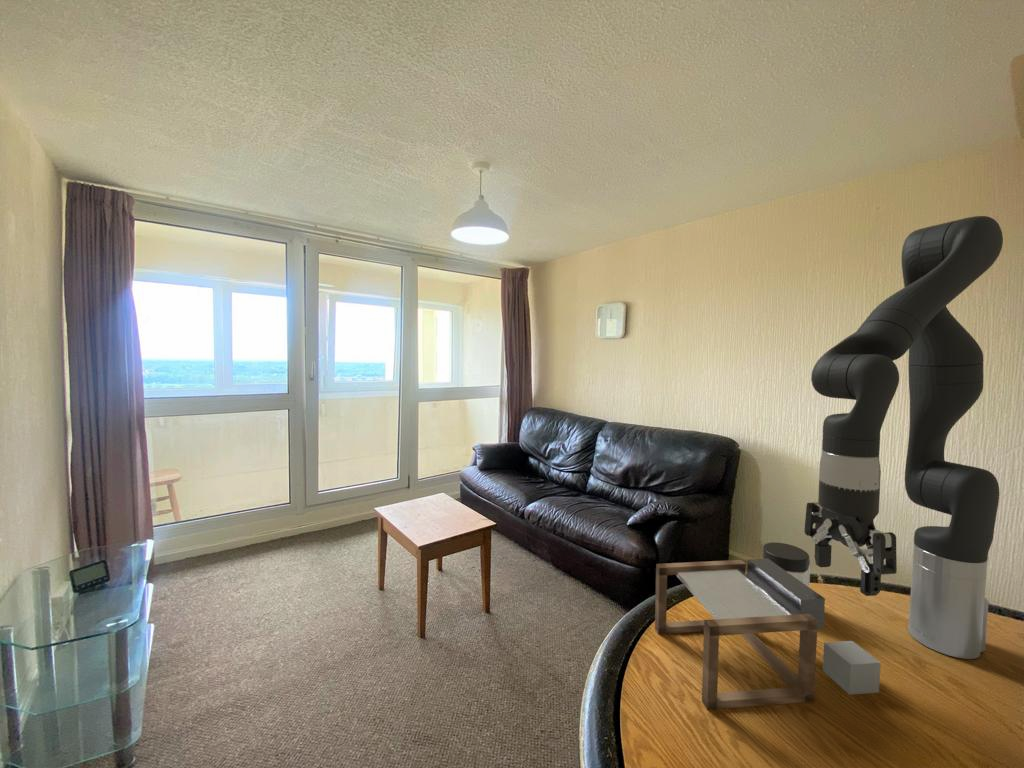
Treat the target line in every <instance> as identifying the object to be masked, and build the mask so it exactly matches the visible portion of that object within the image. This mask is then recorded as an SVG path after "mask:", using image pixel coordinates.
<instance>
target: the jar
mask: <svg viewBox="0 0 1024 768" xmlns="http://www.w3.org/2000/svg"><path fill="white" fill-rule="evenodd" d="M767 558H768V559H769V560H771V561H772V562H774V563H775V564H776V565H778V566H779V567H781V568H782V569H784V570H785V571H786V572H788V573H789V574H791V575H792V576H794V577H795V578H796V579H798V580H799V581H801V582H802V583H804V584H805V585H806V586H808V587H809V588H810V584H811V583H810V581H811V580H810V578H811V566H810V561H811V560H810V555H809V553H808V552H807V551H805V550H804V549H802V548H800V547H798V546H796V545H794V544H793V545H792V544H788V543H784V542H774V541H773V542H767V543H764V544H763V546H762V559H767Z"/></svg>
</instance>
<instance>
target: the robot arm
mask: <svg viewBox="0 0 1024 768" xmlns="http://www.w3.org/2000/svg"><path fill="white" fill-rule="evenodd" d="M1003 242H1004V235H1003V232H1002V228H1001V226H1000V224H999V223H998V222H997V220H996V219H994V218H993V217H990V216H987V215H977V216H968V217H965V218H961V219H957V220H953V221H947V222H943V223H938V224H936V225H935V224H934V225H931V226H927V227H923V228H919V229H917V230H916V229H915V230H914V231H912V232H910V234H908V235H907V236H906V238H905V240H904V242H903V245H902V249H901V250H902V251H901V268H902V270H901V271H902V279H903V288H902V289H900V290H897V292H895V293H893V294H892V295H890V296H888V297H886V299H884V300H883V301H882V302H881V303H879V304H878V305H877V306H876V307H875V308H874V309H873V310H872V311H871V312H870V313H869V315H868V316H867V317H866V319H864V321H863V323H862V324H861V325H860V326H859V328H858V329H857V330H856V331H855V332H853V333H852V334H850V335H848V336H847V337H845V338H844V339H843V340H841V341H840V342H838V343H837V344H835V345H834V346H833V347H831V348H830V349H829V350H828V351H826V352H824V354H822V356H820V358H818V360H817V361H816V363H815V364H814V366H813V368H812V371H811V377H810V379H811V385H812V387H813V388H814V391H816V392H817V393H818V394H819V395H820V396H824V397H827V398H834V399H843V400H853V401H854V400H855V403H854V406H853V407H852V408H851V410H850V412H842V413H833V414H829V415H828V416H826V417H825V418H824V420H823V423H822V439H821V440H822V443H821V444H822V445H821V455H820V460H819V469H818V470H819V471H818V472H819V473H818V496H817V497H818V498H817V499H818V501H815V502H813V501H812V502H807V503H806V506H805V507H806V509H805V520H804V531H803V532H804V534H805V535H806V536H807V537H811V540H812V542H813V544H814V561H815V565H816V566H817V567H819V568H828V567H831V566H832V545H831V543H832V542H833V541H835V542H840V543H841V544H842V545H844V546H845V547H847V548H849V551H850V553H851V554H852V556H853V557H855V558H857V560H858V563H859V565H860V567H861V571H860V587H859V588H860V589H859V591H860V593H861V594H863V595H864V596H865V597H873V596H878V594H880V593H881V583H882V581H881V580H882V575H896V574H897V570H898V569H897V567H898V566H897V564H898V563H897V561H898V560H897V557H898V556H897V536H896V534H895V533H894V532H891V531H889V532H884V531H881V530H878V529H876V526H875V522H874V520H875V518H876V517H877V516H879V515H878V514H879V513H880V496H881V477H882V474H881V469H882V467H881V463H880V448H881V430H882V427H883V424H884V422H885V419H886V415H887V413H888V410H889V407H890V406H891V404H892V401H893V400H894V397H895V395H896V393H897V390H898V386H899V384H900V383H899V382H900V372H899V369H898V366H897V365H896V363H895V362H894V361H897V360H898V359H900V358H902V357H903V356H904V355H905V354H906V353H907V352H908V367H907V368H908V392H909V393H908V394H909V431H908V441H907V444H908V445H907V451H906V461H905V468H904V469H905V470H904V488H905V492H906V494H907V497H908V498H909V499H910V501H911V502H913V503H914V504H915V505H917V506H920V507H923V508H926V509H928V510H929V509H930V510H932V511H936V512H940V513H943V514H946V515H949V516H950V522H949V525H948V526H940V525H939V526H938V525H937V526H935V525H926V526H925V525H924V526H920V527H918V528H916V529H915V531H914V535H913V551H912V552H913V553H912V571H911V582H910V597H909V598H910V599H909V610H908V611H909V614H908V627H907V628H908V629H907V630H908V633H909V634H910V636H911V637H912V638H913V639H915V640H916V641H917V642H919V643H920V644H922V645H924V646H925V647H927V648H929V649H931V650H932V651H936V652H938V653H941V654H944V655H946V656H950V657H954V658H958V659H965V660H973V659H978V658H979V657H980V656H981V652H982V653H983V652H985V651H986V642H987V630H988V628H987V627H988V617H989V616H988V615H989V600H988V599H987V598H986V588H987V574H988V573H987V570H988V560H989V559H988V557H989V552H990V549H991V546H992V544H993V539H994V534H995V526H996V521H997V516H998V515H997V514H998V508H999V503H1000V501H999V500H1000V485H999V482H998V480H997V477H996V476H995V475H994V474H993V473H992V472H991V471H989V470H987V469H984V468H980V467H976V466H973V465H965V464H961V463H957V462H956V463H955V462H951V461H946V459H945V447H946V443H947V442H946V441H947V438H948V435H949V433H950V431H951V429H953V427H954V426H955V425H956V423H958V422H959V420H960V419H961V418H962V417H963V416H965V415H966V413H967V412H968V411H969V410H970V409H971V408H972V407H973V406H974V404H975V403H976V402H977V401H978V399H980V397H981V394H982V393H983V389H984V352H983V350H982V348H981V346H980V345H979V344H978V342H977V340H976V339H975V338H974V337H973V336H972V335H971V334H970V333H969V332H968V331H967V329H966V328H965V327H964V326H963V325H962V324H961V323H960V322H959V321H958V320H957V319H956V317H954V315H953V314H952V313H951V311H950V310H949V308H948V307H947V306H948V304H950V303H951V302H952V301H953V300H954V299H956V298H957V297H958V296H960V295H961V293H962V292H964V291H965V290H966V289H968V288H969V286H971V285H972V284H973V283H975V281H976V280H977V279H979V278H980V277H981V276H982V275H983V274H985V273H986V272H987V271H988V270H989V269H990V268H991V267H992V266H993V265H994V263H995V262H996V261H997V259H998V257H999V256H1000V254H1001V251H1002V249H1003ZM814 524H815V526H814ZM863 546H866V548H867V549H866V548H865V549H863V548H861V547H863ZM867 557H868V558H869V559H870V561H871V563H870V561H869V559H868V558H867Z"/></svg>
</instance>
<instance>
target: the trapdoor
mask: <svg viewBox="0 0 1024 768" xmlns="http://www.w3.org/2000/svg"><path fill="white" fill-rule="evenodd" d="M746 570H747V573H746V572H745V573H744V572H742V571H741V570H740V569H739V568H736V569H733V570H713V571H693V572H677V575H676V577H677V579H679V581H680V582H681V583H682V584H683V585H684V586H685V587H686V589H687V590H688V591H689V592H690V593H691V594H692V595H693V596H694V598H696V600H697V601H698V602H699V603H700V604H701V605H702V606H703V608H704V609H705V610H706V611H707V612H708V613H709V614H710V615H711V616H712V617H713V619H730V618H746V617H763V616H780V615H797V614H811V615H812V616H813V617H815V618H816V619H817V620H818V626H817V630H822V629H824V624H825V603H826V601H825V600H826V598H825V597H823V596H822V595H821V594H819V593H818V592H816V591H815V590H813V589H812V588H811V587H810V586H809V587H808V586H806V585H805V584H804V583H802V582H801V581H799V580H798V579H796V578H795V577H794V576H792V575H791V574H789V573H788V572H786V571H785V570H784V569H782V568H781V567H779V566H778V565H776V564H775V563H774V562H772V561H771V560H769V559H768V558H767V559H763V558H751V559H749V558H748V559H747V568H746Z"/></svg>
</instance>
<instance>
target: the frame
mask: <svg viewBox="0 0 1024 768" xmlns="http://www.w3.org/2000/svg"><path fill="white" fill-rule="evenodd" d="M736 568H739V569H740V570H741V571H742V572H744V573H745V574H746V570H747V568H746V562H744V561H743V560H742V559H733V560H712V561H692V562H691V561H689V562H688V561H687V562H671V563H668V562H667V563H655V602H654V603H655V605H654V606H655V607H654V608H655V609H654V610H655V611H654V612H655V614H654V630H655V631H656V633H657V634H658V635H663V634H664V635H665V634H680V633H681V634H682V633H696V632H697V633H699V632H703V651H702V652H703V653H702V657H703V658H702V681H701V682H702V687H701V688H702V689H701V702H702V704H703V705H704V707H705V709H706V710H709V711H710V710H722V709H733V708H747V707H757V706H770V705H771V706H772V705H785V704H795V703H796V704H798V703H799V704H800V703H809V702H810V703H811V702H815V687H816V686H815V684H816V667H817V663H816V662H817V647H818V646H817V645H818V641H817V640H818V629H817V626H818V620H817V619H816V618H815V617H813V616H812V615H811V614H797V615H780V616H763V617H746V618H730V619H715V618H713V619H700V620H684V621H682V620H681V621H667V604H668V603H667V598H668V597H667V596H668V592H667V591H668V576H677V572H693V571H713V570H733V569H736ZM798 631H799V645H798V646H799V648H798V649H799V650H798V669H797V674H795V673H794V672H793V670H791V669H790V667H788V666H787V665H786V664H785V662H783V661H782V660H781V659H780V658H779V657H778V656H777V655H776V654H775V653H774V652H773V650H772V649H770V648H769V646H767V645H766V644H765V643H764V642H763V641H762V639H761V638H759V637H758V636H757V634H764V633H766V634H767V633H779V632H781V633H782V632H783V633H784V632H798ZM734 635H735V636H736V635H741V636H742V637H743V639H745V641H747V643H748V644H749V645H750V646H751V647H752V648H753V649H754V650H755V651H756V652H757V654H758V655H760V656H761V657H762V658H763V660H765V662H766V663H767V664H768V665H769V666H770V668H772V669H773V671H775V673H777V674H778V675H779V676H780V678H781V679H782V680H783V681H784V682H785V683H786V684H787V685H788V686H789V687H780V688H779V687H778V688H766V689H765V688H764V689H751V690H741V691H739V690H738V691H737V690H736V691H723V692H718V686H719V685H718V682H719V679H718V678H719V655H720V654H719V648H720V636H734Z"/></svg>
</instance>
